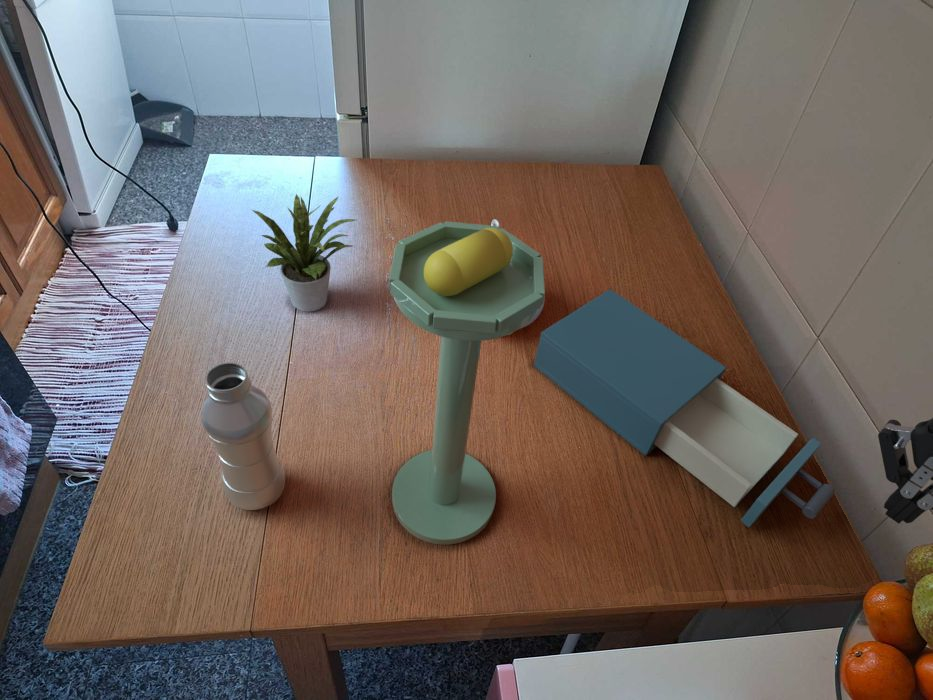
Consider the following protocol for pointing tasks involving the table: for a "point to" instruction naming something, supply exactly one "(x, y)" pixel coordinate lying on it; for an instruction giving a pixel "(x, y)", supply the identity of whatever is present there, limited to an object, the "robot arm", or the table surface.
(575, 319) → the cabinet
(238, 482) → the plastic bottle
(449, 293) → the yellow rounded capsule
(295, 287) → the house plant
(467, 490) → the cake stand
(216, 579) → the table surface
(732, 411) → the drawer
